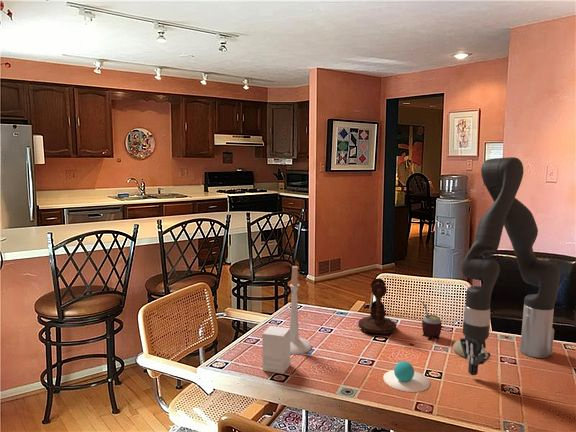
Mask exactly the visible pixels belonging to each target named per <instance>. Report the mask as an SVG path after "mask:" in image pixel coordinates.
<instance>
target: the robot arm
mask: <svg viewBox="0 0 576 432" xmlns="http://www.w3.org/2000/svg"><path fill="white" fill-rule="evenodd" d="M480 173H481V178H482V181H483V184H484V186H485V188H486V189H487V192H488V194H489V195H490V197H491V200H493V203H492V204H491V206H489V207H488V209H487V210H486V211H485V212H484V214H483V215H482V217H481V218H480V220H479V223H478V225H477V228H476V234H475V237H474V241H473V243H472V245H471V247H470V248H469V250H468V252H467V254H466V255H465V257H464V258H463V261H462V264H461V273H462V275H463V276H464V277H465V278H467V279H472V280H476V281H481V282H483V283H482V285H473V286H469V287H468V288H467V289H466V293H465V304H464V305H465V306H464V311H463V319H462V320H463V323H462V334H463V335H464V337H462V338H459V340H460V342H461V346H462V349H463V352H464V356H465V357H464V356H463V357H464V358H466V359H467V362H468V368H467V369H468V374H469V375H471V376H477V375H478V372H479V365H484V364H485V363H486V362H487V361H488V359H489V358H490V357H491V352H487V350H486V346H487V344H486V340H487V339H488V338H489V337H490V326H491V325H490V324H491V302H492V299H491V298H492V293H493V290H494V287H495V284H496V282H497V280H498V277H499V275H500V271H501V269H500V264H499V262H498V261H497V260H496V259H494V258H487V257H482V255H483V254H485V253H492V252H496V251H498V249H499V246H500V242H501V239H502V234H503V229H505V231H506V233H507V236H508V238H509V240H510V243H511V246H512V249H513V251H514V254H515V257H516V261H517V264H518V269H519V273H520V275H521V278H522V280H523V281H524V283H526V284H528V285H531V286H534V287H537V288H538V291H537V293H531V294H527V295H526V296H525V297H524V301H523V310H522V311H523V312H522V323H521V325H522V326H521V335H520V347H519V350H520V352H521V353H522V354H524V355H526V356H529V357H532V358H538V359H546V358H548V357H550V356H552V355H553V350H554V349H553V347H554V337H555V329H554V327H553V323H554V320H553V319H554V310H555V304H556V301H557V299H558V292H559V286H560V279H561V271H560V267H559V266H558V264H556V263H554V262H550V261H545V260H541V259H538V258H537V256H536V254H535V251H534V248H533V246H534V244H535V242H536V239H537V237H538V234H539V229H538V225H537V223H536V220H535V216H534V214H533V213H532V211H531V210H530V209H529V208H528V207H527V206H526V205H525V204H523V202H522V201H520V200H519V199H518V198H516V196H517V193H518V191H519V189H520V187H521V183H522V180H523V178H524V177H523V176H524V165H523V162H522V160H520V158H517V157H515V156H514V157H512V156H511V157H498V158H497V157H496V158H490V159H486V160H485V161H483V163H482V165H481V168H480Z"/></svg>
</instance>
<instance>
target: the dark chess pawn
mask: <svg viewBox="0 0 576 432" xmlns="http://www.w3.org/2000/svg"><path fill="white" fill-rule="evenodd" d="M370 287H371V294H370V300H369V301H370V302H369V316H365V317H364V316H363V317H362V318H360V319H359V320H358V324H357V326H358V327H359V328H360V329H362V330H363V334H367V332H368V333H374V334H388V335H389V336H391V335H392V333H393V332H394V331H396V330H397V324H396V322H395V321H394V320H392V319H391V318H388V317H386V313H387V312H386V310H385V304H384V303H383V302H382V299H383V297H385V296H386V294H387V287H386V282H385V280H384V279H382V278H379V277H378V278H374V279H373V280H371V284H370ZM374 297H375V300H374V301H373V298H374Z"/></svg>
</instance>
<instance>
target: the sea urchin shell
mask: <svg viewBox="0 0 576 432" xmlns="http://www.w3.org/2000/svg"><path fill="white" fill-rule="evenodd" d="M452 348H453V351H454V352H455V353H456V354H458V355H459V356H462V357H463V358H466V357H465V356H464V352H463V349H462V346H461V342H460V339H458V340H456V341H455V342H454V343H453V346H452Z"/></svg>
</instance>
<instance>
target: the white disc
mask: <svg viewBox="0 0 576 432" xmlns="http://www.w3.org/2000/svg"><path fill="white" fill-rule="evenodd" d="M383 381H384V383H385V384H386V385H387V386H389V387H390V388H392V389H394V390H397V391H400V392H407V393H418V392H423V391H425V390H428V389H429V388H430V386H431V381H430V379H429V378H428V377H427V376H425V375H424V374H422V373H420V372H418V371H415V370H414V376H413V378H412V379H411V380H410V381H408V382H402V381H400V380H398V379H397V378H396V376H395V373H394V369H391V370H389V371H387V372H385V373H384V374H383Z"/></svg>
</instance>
